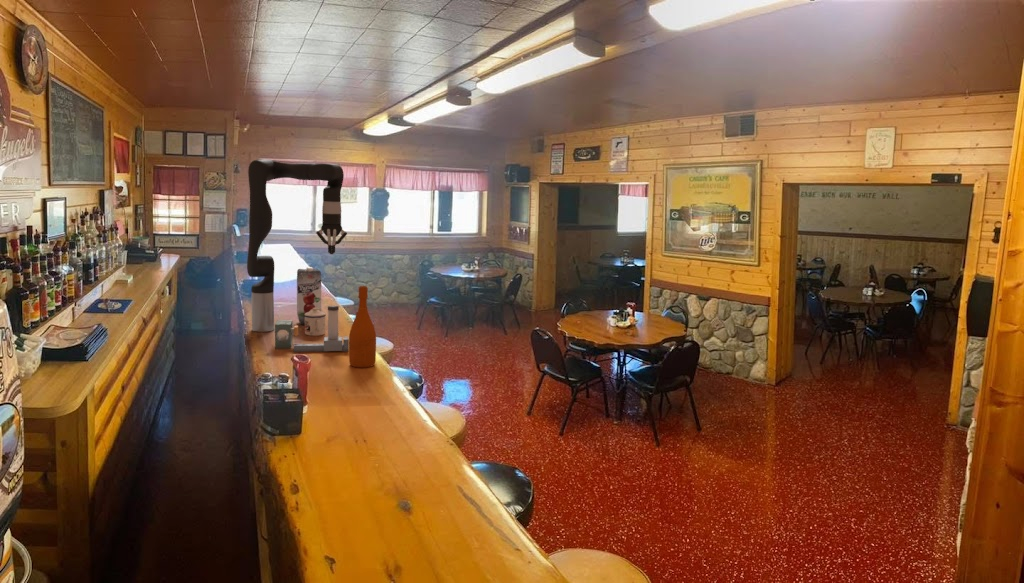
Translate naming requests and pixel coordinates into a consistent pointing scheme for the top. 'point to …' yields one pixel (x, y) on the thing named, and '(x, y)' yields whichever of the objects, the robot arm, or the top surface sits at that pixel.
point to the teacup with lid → (314, 322)
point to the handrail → (319, 347)
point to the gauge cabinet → (283, 334)
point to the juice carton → (308, 292)
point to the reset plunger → (294, 330)
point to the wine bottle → (362, 335)
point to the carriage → (333, 331)
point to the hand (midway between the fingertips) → (331, 253)
